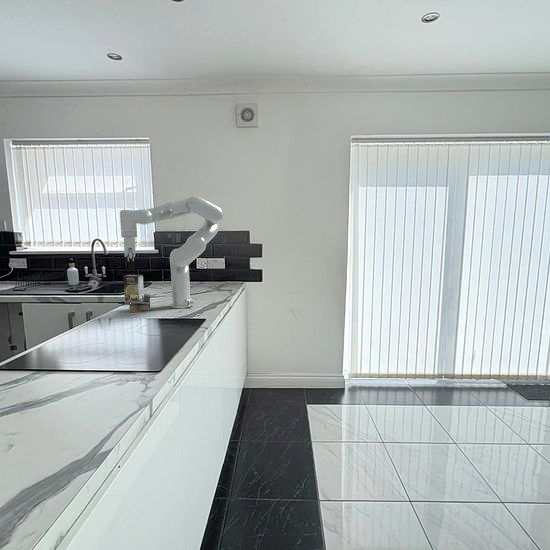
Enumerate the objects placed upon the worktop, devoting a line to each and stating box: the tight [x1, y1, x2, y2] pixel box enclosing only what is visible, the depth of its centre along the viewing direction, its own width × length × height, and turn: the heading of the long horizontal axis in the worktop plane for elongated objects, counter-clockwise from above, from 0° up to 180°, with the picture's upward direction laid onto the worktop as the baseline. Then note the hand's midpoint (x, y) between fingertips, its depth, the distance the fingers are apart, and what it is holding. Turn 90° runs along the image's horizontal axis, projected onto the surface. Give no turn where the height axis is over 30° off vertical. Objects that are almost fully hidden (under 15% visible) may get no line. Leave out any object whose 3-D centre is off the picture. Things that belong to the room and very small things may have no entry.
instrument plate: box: [130, 293, 151, 305], centre depth 181 cm, size 10×8×4 cm
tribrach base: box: [129, 303, 152, 313], centre depth 182 cm, size 10×8×3 cm
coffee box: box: [122, 274, 145, 305], centre depth 199 cm, size 9×6×16 cm
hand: (131, 268), depth 178 cm, fingers open, 8 cm apart
